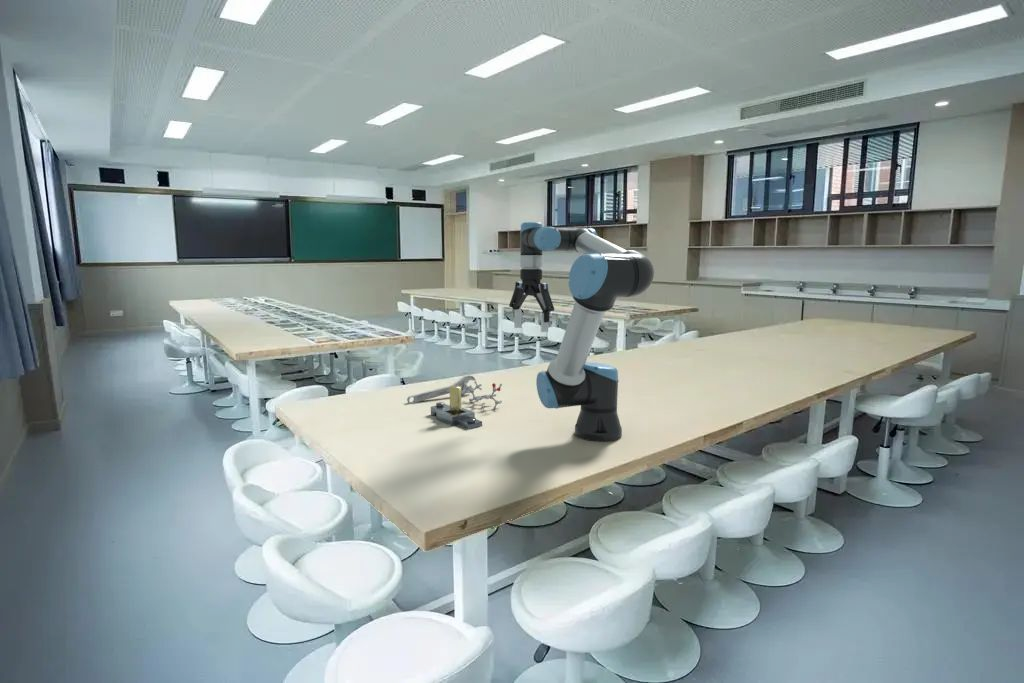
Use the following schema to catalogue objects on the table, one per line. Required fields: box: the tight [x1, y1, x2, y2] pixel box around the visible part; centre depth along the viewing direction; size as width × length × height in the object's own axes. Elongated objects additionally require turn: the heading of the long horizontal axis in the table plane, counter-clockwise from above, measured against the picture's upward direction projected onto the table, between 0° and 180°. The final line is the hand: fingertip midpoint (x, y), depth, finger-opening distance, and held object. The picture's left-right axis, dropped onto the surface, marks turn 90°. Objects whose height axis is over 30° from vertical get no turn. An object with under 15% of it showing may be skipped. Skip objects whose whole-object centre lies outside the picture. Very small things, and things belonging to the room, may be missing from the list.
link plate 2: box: [436, 415, 483, 430], centre depth 192 cm, size 16×10×2 cm, turn 41°
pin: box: [449, 385, 462, 415], centre depth 194 cm, size 4×4×12 cm
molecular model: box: [463, 381, 503, 410], centre depth 213 cm, size 19×10×10 cm, turn 34°
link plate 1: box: [430, 401, 476, 422], centre depth 197 cm, size 16×10×4 cm, turn 41°
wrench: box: [406, 374, 477, 405], centre depth 223 cm, size 8×2×30 cm
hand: (530, 329), depth 193 cm, fingers open, 13 cm apart
